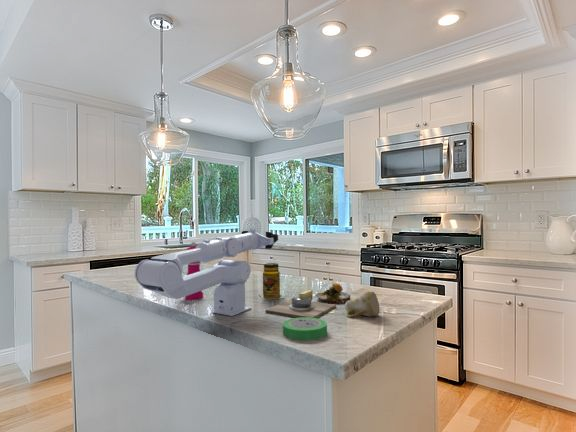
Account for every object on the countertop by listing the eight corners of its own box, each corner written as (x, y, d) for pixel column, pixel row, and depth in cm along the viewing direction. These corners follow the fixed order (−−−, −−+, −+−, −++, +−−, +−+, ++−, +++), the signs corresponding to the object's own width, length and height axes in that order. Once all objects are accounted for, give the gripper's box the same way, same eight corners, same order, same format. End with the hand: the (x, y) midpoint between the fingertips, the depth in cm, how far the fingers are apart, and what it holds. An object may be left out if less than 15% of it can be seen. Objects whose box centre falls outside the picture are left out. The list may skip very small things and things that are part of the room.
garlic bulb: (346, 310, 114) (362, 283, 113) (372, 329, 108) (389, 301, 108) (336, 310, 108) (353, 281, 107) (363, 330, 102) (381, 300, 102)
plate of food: (325, 295, 135) (324, 274, 135) (355, 298, 129) (355, 277, 129) (309, 302, 125) (309, 280, 125) (342, 306, 119) (342, 283, 119)
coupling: (305, 308, 110) (305, 296, 110) (288, 306, 113) (288, 294, 113) (318, 302, 117) (318, 291, 117) (302, 299, 121) (302, 289, 121)
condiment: (264, 300, 127) (263, 265, 127) (258, 295, 135) (258, 262, 135) (284, 298, 129) (284, 264, 129) (277, 293, 137) (277, 261, 137)
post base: (312, 320, 103) (312, 316, 103) (265, 312, 111) (265, 308, 111) (335, 307, 117) (335, 303, 117) (292, 301, 125) (292, 297, 125)
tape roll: (274, 335, 91) (274, 325, 91) (297, 324, 101) (297, 314, 100) (313, 344, 85) (312, 333, 85) (334, 331, 94) (334, 321, 94)
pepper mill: (199, 300, 127) (198, 242, 126) (179, 300, 128) (179, 242, 128) (207, 296, 134) (207, 241, 134) (189, 295, 135) (188, 241, 135)
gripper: (261, 231, 114) (285, 226, 126) (226, 229, 122) (251, 225, 133) (262, 253, 115) (285, 246, 126) (227, 250, 122) (252, 244, 134)
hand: (268, 236), depth 130 cm, fingers open, 7 cm apart
